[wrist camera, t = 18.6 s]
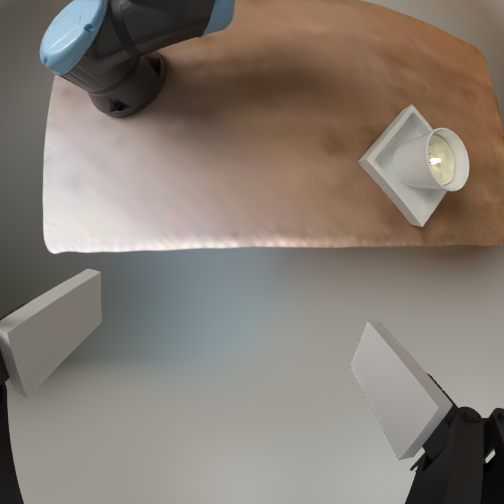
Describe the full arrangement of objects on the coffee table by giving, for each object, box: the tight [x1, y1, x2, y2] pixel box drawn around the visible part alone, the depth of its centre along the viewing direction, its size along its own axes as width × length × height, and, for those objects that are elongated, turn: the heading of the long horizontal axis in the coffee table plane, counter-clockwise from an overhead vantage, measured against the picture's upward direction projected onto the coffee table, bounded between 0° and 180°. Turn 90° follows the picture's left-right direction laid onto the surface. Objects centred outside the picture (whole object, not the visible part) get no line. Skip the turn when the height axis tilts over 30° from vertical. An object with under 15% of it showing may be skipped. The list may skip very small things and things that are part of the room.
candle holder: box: [393, 128, 469, 191], centre depth 36 cm, size 10×10×12 cm
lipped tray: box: [357, 105, 447, 227], centre depth 41 cm, size 16×16×4 cm
